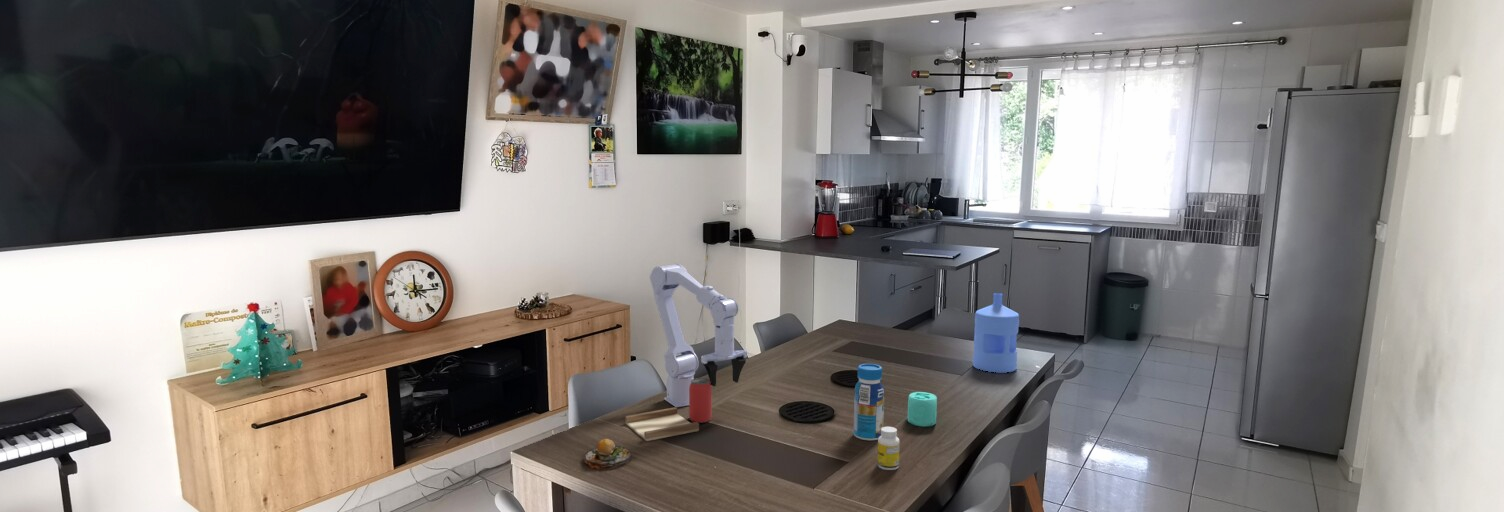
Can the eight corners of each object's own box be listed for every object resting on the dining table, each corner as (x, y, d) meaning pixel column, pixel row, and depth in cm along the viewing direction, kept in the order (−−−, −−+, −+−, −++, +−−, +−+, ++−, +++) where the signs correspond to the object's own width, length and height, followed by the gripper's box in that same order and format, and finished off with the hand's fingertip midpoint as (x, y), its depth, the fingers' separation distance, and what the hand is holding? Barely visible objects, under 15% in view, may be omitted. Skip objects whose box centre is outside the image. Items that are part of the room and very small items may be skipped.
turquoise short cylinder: (936, 419, 225) (937, 393, 224) (935, 428, 217) (936, 401, 216) (909, 416, 227) (909, 390, 226) (907, 425, 219) (907, 398, 218)
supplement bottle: (874, 462, 192) (875, 425, 191) (895, 461, 193) (896, 425, 191) (880, 471, 187) (881, 433, 186) (901, 470, 187) (902, 432, 186)
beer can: (708, 424, 219) (708, 384, 218) (686, 422, 220) (686, 383, 219) (714, 416, 225) (713, 378, 224) (692, 415, 227) (692, 376, 225)
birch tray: (625, 423, 219) (625, 416, 219) (675, 414, 228) (675, 407, 227) (646, 441, 206) (646, 433, 206) (698, 430, 214) (698, 423, 214)
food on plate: (640, 457, 195) (640, 430, 194) (610, 474, 185) (609, 445, 184) (605, 448, 201) (605, 422, 200) (574, 464, 191) (573, 435, 190)
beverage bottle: (847, 432, 213) (849, 364, 210) (873, 429, 216) (875, 361, 213) (862, 443, 205) (863, 372, 202) (889, 439, 208) (891, 369, 205)
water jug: (964, 364, 285) (967, 291, 281) (999, 360, 289) (1003, 289, 286) (988, 375, 270) (992, 298, 266) (1025, 371, 274) (1029, 296, 271)
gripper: (708, 345, 217) (709, 390, 219) (752, 339, 224) (751, 383, 226) (698, 339, 223) (698, 384, 225) (740, 334, 230) (740, 377, 232)
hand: (724, 383), depth 226 cm, fingers open, 7 cm apart
